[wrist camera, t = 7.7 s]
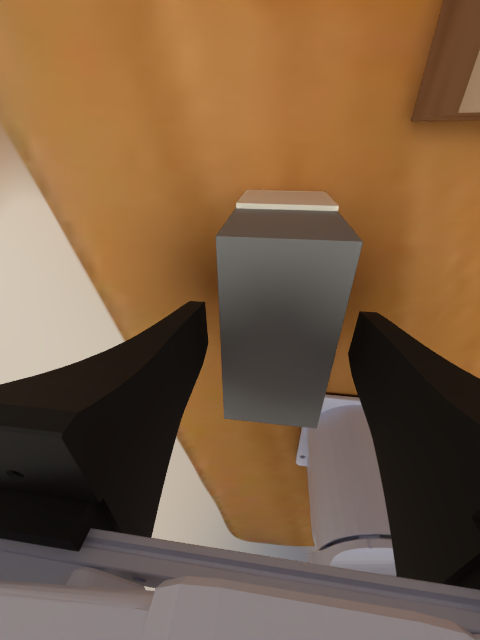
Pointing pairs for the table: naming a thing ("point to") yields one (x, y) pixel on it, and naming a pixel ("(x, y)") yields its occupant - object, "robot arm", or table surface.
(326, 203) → the off-white brick
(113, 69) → the table surface
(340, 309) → the charcoal brick
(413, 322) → the table surface
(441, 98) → the walnut brick
